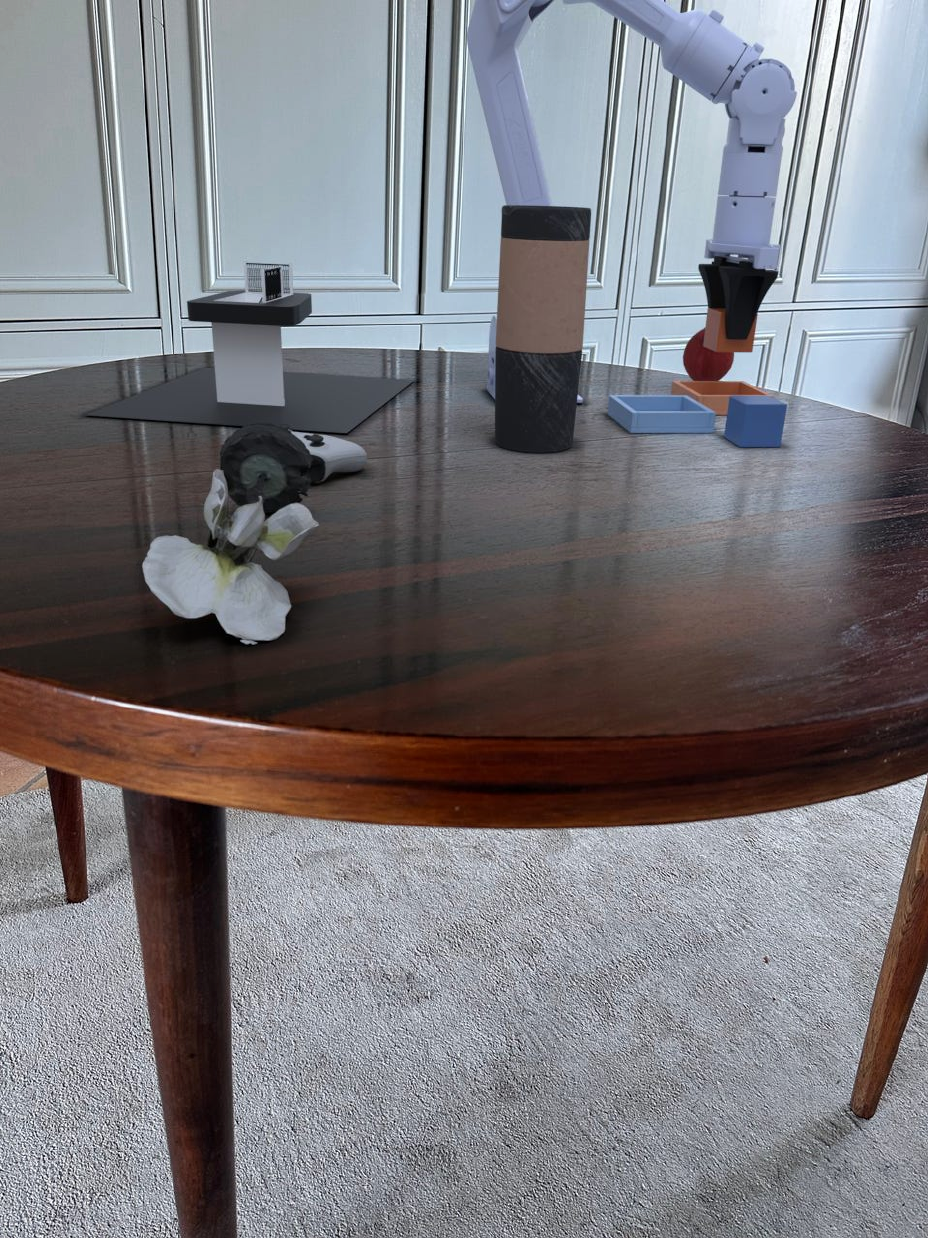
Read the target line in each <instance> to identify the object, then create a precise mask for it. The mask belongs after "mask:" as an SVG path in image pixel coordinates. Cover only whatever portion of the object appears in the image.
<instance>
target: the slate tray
mask: <svg viewBox="0 0 928 1238" xmlns="http://www.w3.org/2000/svg"><path fill="white" fill-rule="evenodd" d="M606 414H607V415H608V416H609V417H610V418H611V419H613V420H614V421H615V422H616V423H617V424H618V425H620V426H621V427H622V428H624V429H625V430H626V431H627V432H628V433H630V434H713V433H714V432H715V423H716V416H717V415H716V412H714V411H713V410H711V409H709V408H707V407H706V406H704V405H702V404H701V403H699V402H697V401H695V400H694V399H692V398H690V397H689V396H687V395H682V396H681V395H671V394H666V395H665V394H664V395H663V394H660V395H659V394H657V395H656V394H655V395H654V394H639V395H638V394H615V395H614V394H610V395H608V402H607V413H606Z"/></svg>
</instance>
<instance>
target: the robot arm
mask: <svg viewBox="0 0 928 1238" xmlns="http://www.w3.org/2000/svg"><path fill="white" fill-rule="evenodd" d="M553 2H555V0H474V3H473V8H472V12H471V15H470V19H469V23H468V26H467V31H466V44H467V49H468V52H469V57H470V61H471V66H472V70H473V74H474V77H475V81H476V86H477V91H478V94H479V97H480V102H481V107H482V110H483V115H484V119H485V123H486V127H487V131H488V135H489V140H490V143H491V147H492V151H493V156H494V160H495V164H496V168H497V172H498V176H499V180H500V184H501V188H502V193H503V196H504V200H505V201H504V202H505V204H506V205H529V206H553V201H552V198H551V197H552V196H551V193H550V189H549V184H548V180H547V175H546V172H545V166H544V161H543V158H542V153H541V149H540V143H539V141H538V136H537V131H536V127H535V123H534V119H533V114H532V110H531V105H530V101H529V96H528V91H527V88H526V83H525V79H524V73H523V70H522V65H521V62H520V57H519V51H518V50H519V47H520V45H521V44H522V42H523V41H524V39H525V37H526V35H527V33H528V31H529V30H530V28H531V26H532V25H533V24H534V23H533V22H534V20H535V19H536V18H538V16H540V15H541V14H542V13H543V12H544V11H545V10H547V9H548V8H549V7H550V6H551V5H552V4H553ZM562 3H563V5H576V4H586V3H590V4H594V5H595V6H597V7H599V8H600V9H601V10H603V11H604V12H606V13H608V14H609V15H610V16H612V17H614V18H615V19H617V20H618V21H619V22H621V23H623V24H625V25H626V26H627V27H629V28H630V29H632V30H633V31H635V32H636V33H638V34H639V35H641V36H643V37H644V38H646V39H648V40H649V41H650V42H652V43H654V44H655V45H657V46H658V47H659V49H660V54H661V63H662V67H663V69H664V70H666V71H667V72H669V73H670V74H671V75H672V76H674V77H676V78H677V79H678V80H680V81H681V82H683V84H686V85H687V86H688V87H690V88H691V89H692V90H694V91H695V92H697V93H698V94H700V95H701V96H703V97H704V98H705V99H707V100H708V101H710V102H711V103H712V104H714V105H719V104H724V109H725V112H726V115H727V118H728V124H727V125H728V126H727V128H728V129H727V134H726V143H725V144H724V146H723V150H722V156H721V157H722V158H721V165H720V174H719V176H720V177H719V182H718V183H719V184H718V192H717V198H716V199H717V200H716V208H715V217H714V224H713V232H712V233H713V234H712V239H711V238H710V239H708V238H707V239H705V247H704V256H703V258H704V259H708V260H709V259H710V260H712V259H713V261H711V263H699V264H698V266H697V269H698V272H699V274H700V277H701V279H702V283H703V287H704V290H705V296H706V301H707V309H708V308H726V309H725V330H726V338H727V339H735V340H747V338H748V336H749V333H750V331H751V328H752V326H753V323H754V320H755V318H756V315H757V313H758V311H759V310H760V308H761V306H762V303H763V301H764V299H765V298H766V295H767V294H768V292H769V290H770V289H771V287H772V286H773V285H774V283H775V282H776V280H777V279H778V277H779V270H777V267H778V262H779V254H780V249H781V245H780V244H778V243H771V237H772V231H773V230H772V229H773V223H774V222H773V221H774V215H775V208H776V201H777V194H778V186H779V180H780V173H781V166H782V160H783V152H784V146H783V141H784V136H785V133H786V132H785V131H786V126H785V125H786V118H785V117H786V116H788V114H789V113H790V112H791V110H792V108H793V106H794V105H795V102H796V99H797V95H798V93H797V91H796V90H795V89H796V85H795V80H794V78H793V76H792V72H791V70H790V68H789V67H787V65H785V64H784V63H783V62H781V61H780V60H778V59H775V58H767V57H766V58H761V59H760V57H761V55H762V53H763V52H764V50H765V47H764V46H763V45H762V44H760V43H759V42H757V41H756V42H754V44H753V45H751V44H750V43H749V42H747V41H746V40H744V39H743V38H742V37H740V36H739V35H737V34H736V33H735V32H733V31H732V30H730V29H729V28H727V27H726V25H723V24H722V22H723V20H724V19H725V18H724V17H725V16H724V15H723V14H722V13H720V12H719V11H717V10H716V9H712V10H711V11H710V13H707V12H705V11H704V10H703V9H701V8H696V9H692V10H688V11H685V12H678V11H677V10H676V9H674V8H673V7H671V6H670V5H669V4H668V3H666V2H665V1H664V0H562ZM496 325H497V314H494V315H493V316H492V317H491V321H490V326H489V335H488V358H487V359H488V360H487V361H488V363H487V385H486V388H485V389H486V391H487V392H488V393H489V394H490V396H491V397H492V398H493V399H494V400H495V350H496ZM583 402H584V398H583V397H582V396H580V395H579V394H578V398H577V404H582V403H583Z"/></svg>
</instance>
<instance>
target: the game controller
mask: <svg viewBox="0 0 928 1238" xmlns="http://www.w3.org/2000/svg"><path fill="white" fill-rule="evenodd" d="M278 426H279V427H280V426H281V427H282V428H283V429H285V430H287V431H290V432H291V433H292V434H293V435H295V436H296V437H297V438H299V439H300V440H301V441H302V442H303V443H304V444H305V446H306V448H307V449H308V450H309V451H310V455H311V456H312V458H313V459H314V460H313V461H312V462H311V466H310V468H308V467H304V468H301V469H299V471H300V473H303V474H306V475H307V474H308V473H309V474H310V475H311V476H310V479H311V484H318V483H321V482H324V481H325V480H327V478H328V477H329V476H330V475H332V473H355V472H358V471H360V470H362V469H364V467H365V466H366V464H367V461H368V455H367V452H366V451H365V449H364V448H363V447H362V446H361V445H359V444H357V443H355V442H352V441H349V440H347V439H342V438H339V437H336V436H331V435H326V434H318V433H309V432H299V431H293V430H292V429H290V425H288V424H280V425H278Z"/></svg>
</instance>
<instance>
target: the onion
mask: <svg viewBox="0 0 928 1238" xmlns="http://www.w3.org/2000/svg"><path fill="white" fill-rule="evenodd" d="M704 335H705V327H703V328H702V329H700V330H699V331H697V332H696V333H695V334H693V335H692V337H690V339H689V340H688V341H687V343H686V345H685V347H684V349H683V355H682V365H683V367H684V370H685V372H686V373H687V375H688V377H689V378H690V379H691V381H722V379H723V378H724V377H726V375H727V374H728V373H729V371H730V370H731V369H732V367H733V364H734V361H735V352H715V351H713V350H710V349H708V348H706V347H704V346H703V343H704Z"/></svg>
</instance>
